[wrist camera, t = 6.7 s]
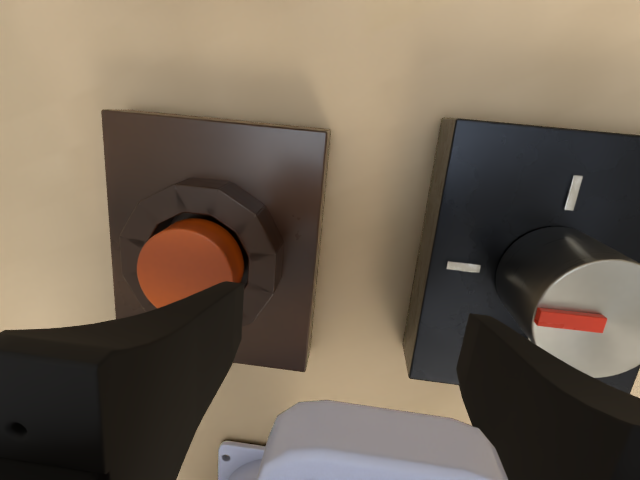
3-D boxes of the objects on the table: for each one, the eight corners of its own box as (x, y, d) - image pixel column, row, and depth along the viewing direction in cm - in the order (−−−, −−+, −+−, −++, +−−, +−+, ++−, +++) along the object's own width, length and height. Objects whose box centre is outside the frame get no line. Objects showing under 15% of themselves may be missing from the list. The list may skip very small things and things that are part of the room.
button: (243, 307, 19) (231, 326, 17) (157, 296, 19) (138, 315, 17) (246, 223, 17) (234, 234, 16) (154, 212, 18) (133, 223, 16)
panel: (590, 369, 22) (627, 410, 19) (402, 345, 22) (408, 381, 19) (669, 138, 18) (730, 143, 15) (441, 117, 19) (457, 118, 16)
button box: (310, 349, 23) (300, 396, 19) (138, 326, 24) (96, 368, 20) (331, 129, 19) (324, 133, 16) (127, 109, 20) (72, 108, 16)
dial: (618, 232, 17) (702, 271, 12) (587, 327, 18) (655, 391, 14) (507, 221, 17) (554, 255, 13) (485, 316, 18) (522, 375, 14)
